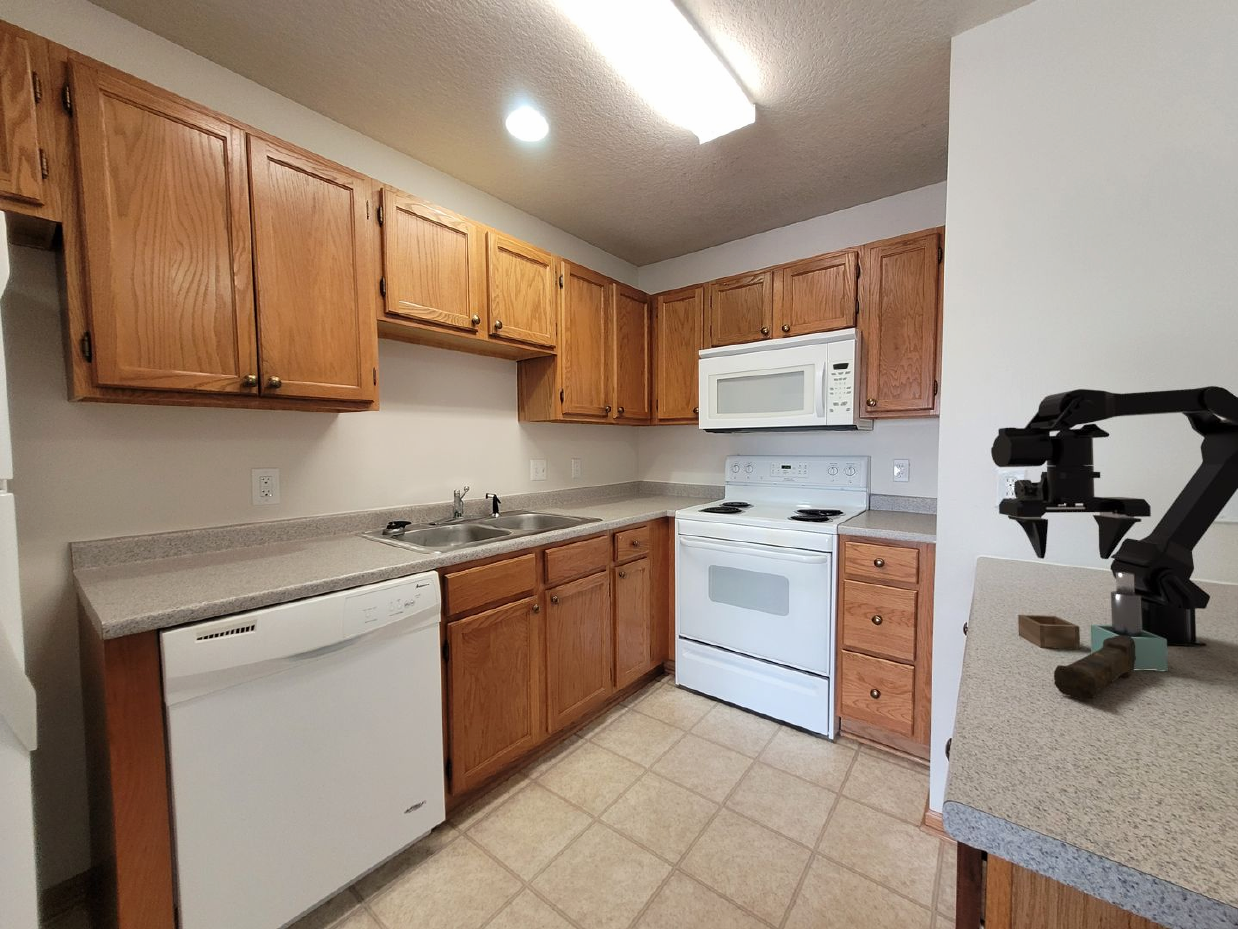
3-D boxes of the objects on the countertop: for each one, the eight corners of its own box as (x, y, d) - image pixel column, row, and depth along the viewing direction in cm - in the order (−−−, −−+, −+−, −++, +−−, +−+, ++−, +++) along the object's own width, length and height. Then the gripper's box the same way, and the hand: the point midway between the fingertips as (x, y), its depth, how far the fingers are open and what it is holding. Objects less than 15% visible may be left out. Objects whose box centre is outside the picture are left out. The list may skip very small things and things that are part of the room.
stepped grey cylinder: (1120, 657, 71) (1117, 570, 71) (1148, 665, 68) (1145, 574, 68) (1108, 660, 70) (1105, 572, 70) (1135, 668, 67) (1132, 576, 67)
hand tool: (1094, 706, 57) (1093, 668, 57) (1052, 692, 61) (1052, 656, 61) (1160, 673, 65) (1159, 639, 65) (1119, 662, 69) (1119, 630, 69)
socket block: (1055, 636, 79) (1054, 615, 79) (1080, 649, 74) (1079, 626, 74) (1018, 635, 80) (1018, 614, 80) (1040, 647, 75) (1039, 625, 75)
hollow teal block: (1133, 656, 71) (1132, 626, 71) (1167, 671, 66) (1166, 639, 66) (1091, 654, 72) (1090, 624, 72) (1121, 669, 67) (1120, 637, 67)
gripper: (1096, 464, 86) (1098, 550, 86) (980, 466, 89) (982, 549, 89) (1152, 464, 75) (1155, 563, 75) (1018, 467, 78) (1020, 561, 78)
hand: (1072, 558), depth 80 cm, fingers open, 9 cm apart
